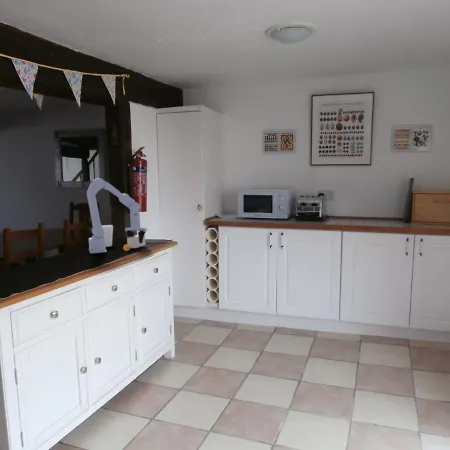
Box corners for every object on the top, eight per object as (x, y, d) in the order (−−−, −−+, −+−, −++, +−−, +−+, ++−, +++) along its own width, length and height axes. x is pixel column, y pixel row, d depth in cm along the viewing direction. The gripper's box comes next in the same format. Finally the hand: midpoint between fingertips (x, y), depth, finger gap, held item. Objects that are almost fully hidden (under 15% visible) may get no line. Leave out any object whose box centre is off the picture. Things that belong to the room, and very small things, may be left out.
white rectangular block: (137, 244, 266) (136, 235, 265) (145, 244, 264) (144, 235, 263) (127, 247, 256) (127, 237, 255) (135, 248, 254) (135, 238, 253)
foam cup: (111, 246, 267) (110, 226, 266) (97, 247, 268) (95, 227, 266) (115, 244, 277) (114, 225, 275) (102, 244, 277) (100, 225, 275)
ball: (126, 242, 250) (129, 244, 253) (120, 246, 249) (124, 249, 253) (128, 246, 247) (132, 249, 251) (123, 250, 247) (127, 253, 251)
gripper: (148, 220, 259) (150, 242, 261) (129, 220, 264) (130, 241, 266) (142, 221, 253) (144, 243, 254) (122, 221, 258) (124, 243, 260)
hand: (136, 242), depth 260 cm, fingers closed on white rectangular block, 6 cm apart
